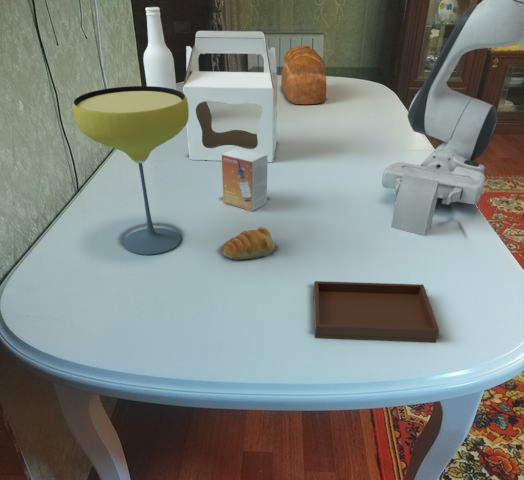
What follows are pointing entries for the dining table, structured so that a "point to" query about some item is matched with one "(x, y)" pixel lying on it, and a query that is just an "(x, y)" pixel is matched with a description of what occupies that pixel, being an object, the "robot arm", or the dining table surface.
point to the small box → (244, 178)
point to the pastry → (249, 245)
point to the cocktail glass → (135, 139)
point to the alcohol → (158, 54)
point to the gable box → (230, 95)
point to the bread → (303, 76)
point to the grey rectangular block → (415, 204)
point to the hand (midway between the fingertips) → (421, 195)
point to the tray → (373, 312)
